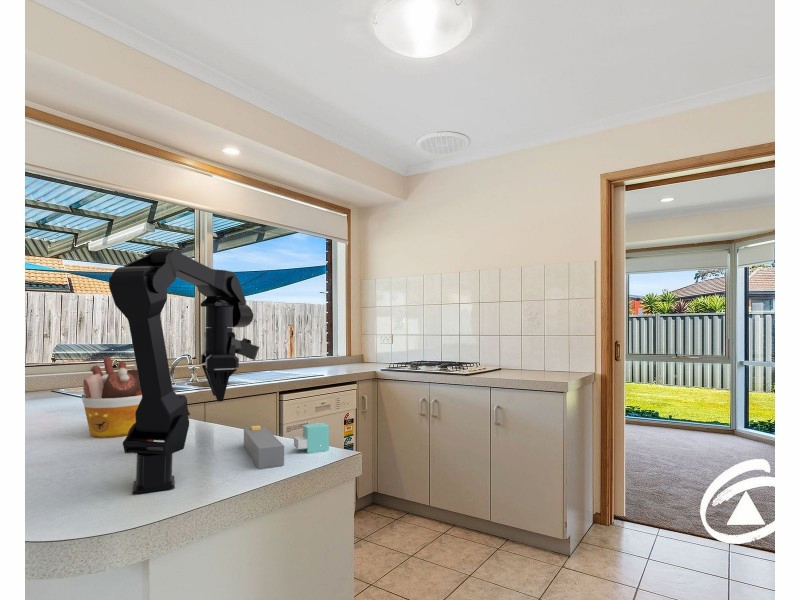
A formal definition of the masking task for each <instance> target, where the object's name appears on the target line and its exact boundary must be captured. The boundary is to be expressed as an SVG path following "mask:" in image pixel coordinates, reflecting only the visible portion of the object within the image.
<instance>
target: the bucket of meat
mask: <svg viewBox="0 0 800 600" xmlns="http://www.w3.org/2000/svg"><path fill="white" fill-rule="evenodd" d="M103 364H104V365H103V366H104V369H105V374H104V373H103V371H102V369H101V367H100V366H99V365H93V366H92V369H91V372H92V374H91V376H86V377H84V378H83V380H82V390H83V394H82V395H81V399H82V400H81V401H82V403H83V407H84V412H85V416H86V420H87V426H88V430H89V433H90V435H92V436H93V437H94V438H98V439H99V438H101V439H105V438H106V439H108V438H110V439H111V438H120V437H127V435H128V431H129V429H130V428H131V426H132V425H133V424H134V423H136V418H135V412H136V410H137V407H138V405H139V403H140V401H141V399H142V393H141V387H140V382H139V376H138V371H137V366H136V363H135V364H134V365H133V366H132V368H131V369H128V370H127V364H126V362H125V361H124V360H122V361H120V362H118V364H117V365H118V369H117V371H114V367H113V363H112V358H110V356H105V357H104V359H103Z"/></svg>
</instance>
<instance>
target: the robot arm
mask: <svg viewBox="0 0 800 600" xmlns="http://www.w3.org/2000/svg"><path fill="white" fill-rule="evenodd" d="M177 279H179V280H182V281H184V282H187V283H188V284H191V285H193V286H195V287H197V291H198V292H199V293H200V294H202V295H203V296H204V297H206V298H205V299H204V300H202V301H201V303H200V306H201V307H204V308H205V323H204V324H205V328H204V329H205V332H204V339H205V340H204V350H203V352H202V353H201V354H200V363H201V368H202V371H203V372H204V373H203V374H204V376H205V378H206V381H207V382H208V383H207V384H208V385H209V387H210V390H211V393H212V395H213V396H214V397H215V399H216V401H217V402H224V399H225V395H226V391H227V387H228V382H229V380H230V377H231V376H232V375H233V374H234V373H235V372H237V371H238V368H239V367H240V363H239V362H240V358H239V357H238V356H236V355H240V356H243V357H245V358H247V359H249V360H252V361H255V360H256V357H257V355H258V352H259V350H260V346H257V345H255V344H252V340H251V339H248V338H247V337H246V338H245V337H244V338H242V339H241V340H239V339H237V338H236V333H235V332H233V330H234V329H233V328H245V327H248V326H250V325H251V323H252V321H253V319H254V313H253V309H251V307H250V306H249V305H248V304H247V301H246V297H245V293H244V291H243V289H242V286H241V285H242V284H241V283H240V280H239V278H238V277H237V274H236V273H235V272H234V271H231V270H225V269H217V268H216V269H215V268H211V267H209V266H207V265H205V264H203V263H201V262H199V261H197V260H196V259H193V258H191V257H189V256H187V255H185V254H183V253H182V252H181V251H180V250H177V249H175V248H158V249H154V250H152V251H150V252H149V253H147V254H146V255H145V256H143V257H141V258H138V259H136V260H133V261H131V262H128V263H127V264H125V265H124V266H120V267H117V268H116V269H115V270H114V271H113V272H112V274H111V276H109V278H108V287H109V288H108V289H109V291H110V293H111V294H110V295H111V297H112V300H113V303H114V305H115V307H116V308H117V309H118V310H119V311H120V312H121V314H122V315H124V317H125V318H126V319H127V321H128V327H129V331H130V337H131V343H132V348H133V349H132V350H133V354H134V359H135V364H136V366H137V371H138V376H139V382H140V387H141V393H142V399H141V401H140V403H139V405H138V407H137V410H136V412H135V418H136V423H135V424H134V426H133V427H132V429H131V431H130V432H129V434H128V435H127V436H125V438H124V440H123V442H122V447H123V450H124V454H136V464H135V465H136V466H135V468H136V469H135V471H136V473H135V476H136V477H135V480H134V481H133V486H132V494H133V495H136V494H137V495H138V494H143V493H149V492H157V491H163V490H165V491H166V490H172V489H175V486H176V485H175V483H176V482H175V475H173V454H175V453H177V452H180V451H181V450H184V449H185V445H186V442H187V441H186V440H187V436H188V433H189V432H188V431H189V427H190V420H189V416H191V413H190V411H189V408H188V407H189V406H188V398H187V397H186V395H185V394H176V392H175V391H174V389H173V385H172V379H171V371H170V365H169V361H168V354H167V349H166V342H165V336H164V331H163V325H162V317H161V313H162V311H163V309H164V307H165V305H166V303H167V300H168V288H169V287H170V286H171V285H172V284H174V283H175V281H176V280H177ZM148 440H154V441H153V442H150V441H148Z"/></svg>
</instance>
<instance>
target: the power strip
mask: <svg viewBox="0 0 800 600" xmlns="http://www.w3.org/2000/svg"><path fill="white" fill-rule="evenodd" d="M243 448H244V449H245V450H246V451H247V454H248V455H249V456H250V459H252V461H253V463H254V464H255V466H256V467H257V470H258V469H259V470H263V469H268V468H269V469H270V468H274V467H275V468H276V467H282V466H283V467H284V466H285V445H284V444H283V443H282V442H281V441H280V440H279V439H278V438H277V437H276V436H275V435H274V434H273V433H272V432H271V431H270V429H268V427H266V426H263V427H262V426H261V425H252V426H250V428H249V427H248V428H243Z"/></svg>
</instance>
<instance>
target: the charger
mask: <svg viewBox="0 0 800 600" xmlns="http://www.w3.org/2000/svg"><path fill="white" fill-rule="evenodd" d="M320 445H321V446H320ZM293 446H294V447H295V448H296V449H297V450H303V451H305V453H306V454H311V453H317V452H318V453H319V452H326V451H329V450H330V426H329V425H328V424H327V423H325V422H320V423H310V424H303V425H302V435H300V436H299V435H298V436H293Z"/></svg>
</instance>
